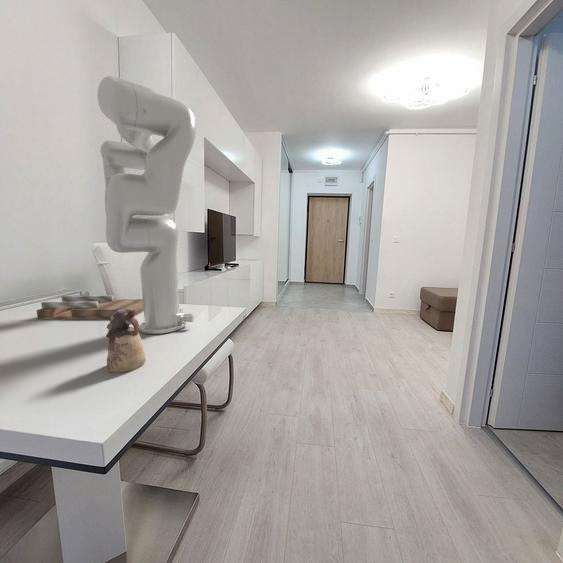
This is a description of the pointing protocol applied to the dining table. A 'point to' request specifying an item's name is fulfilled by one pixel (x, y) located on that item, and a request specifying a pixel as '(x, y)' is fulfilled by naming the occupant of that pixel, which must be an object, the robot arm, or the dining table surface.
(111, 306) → the trap deck
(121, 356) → the figurine
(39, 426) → the dining table surface
